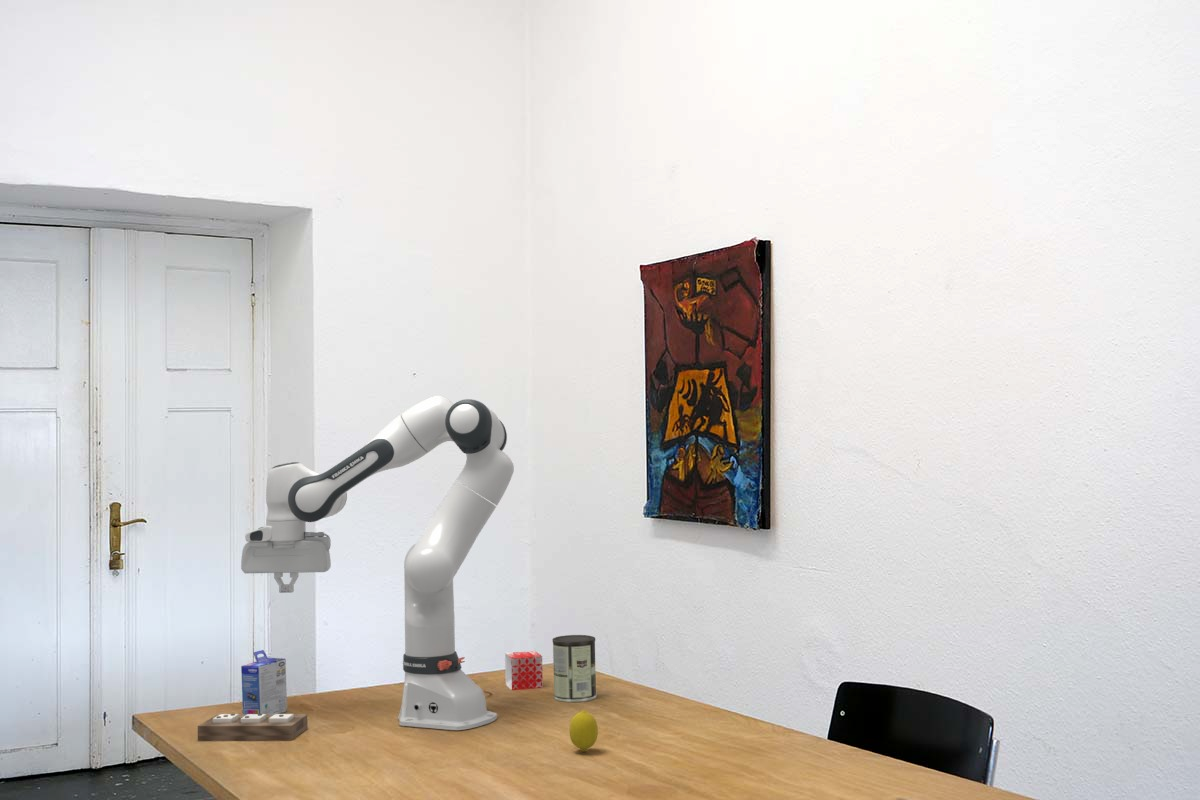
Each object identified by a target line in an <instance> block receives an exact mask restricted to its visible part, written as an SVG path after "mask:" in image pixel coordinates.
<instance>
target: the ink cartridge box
mask: <svg viewBox="0 0 1200 800" xmlns="http://www.w3.org/2000/svg"><path fill="white" fill-rule="evenodd" d="M258 655H263V656H260V657H259V656H258ZM253 656H254V659H255V661H253V662H249V663H247V664H244V665H241V667H240V668H241V670H240V671H241V692H242V694H241V697H242V701H241V702H242V715H247V714H266V715H275V714H284V713H285V712H287V711H288V697H287V667H286V666H287V663H286V660H287V659H286V658H282V657H268V656H267V653H266V651H265V650H264V649H261V650H257V651H253Z"/></svg>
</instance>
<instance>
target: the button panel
mask: <svg viewBox="0 0 1200 800" xmlns="http://www.w3.org/2000/svg"><path fill="white" fill-rule="evenodd" d="M293 714H294V713H293ZM218 715H219V714H216V715H214V716H212V717H210V718H209V719H207V720H206V721H204V722H202V723H201V724H199V725H197V741H198V742H201V741H202V742H203V741H204V742H206V741H207V742H209V741H210V742H211V741H212V742H213V741H214V742H215V741H216V742H217V741H218V742H219V741H220V742H221V741H223V742H226V741H228V742H231V741H238V742H239V741H240V742H243V741H251V742H252V741H293V740H295V739H296V738H297V737H298V736H300V735H301V734H302V733H304V732H305V731H306V730H307V729H308V713H307V714H304V713H303V714H301V713H300V714H294V719H293V720H291V721H290V722H288V723H269V718H270V717H272V716H273V715H266V719H265V720H264V721H262V722H261V723H241V718H243V717H244V716H246V715H243V714H239V719H238V720H236V721H234V722H233V723H213V718H215V717H216V716H218Z"/></svg>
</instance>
